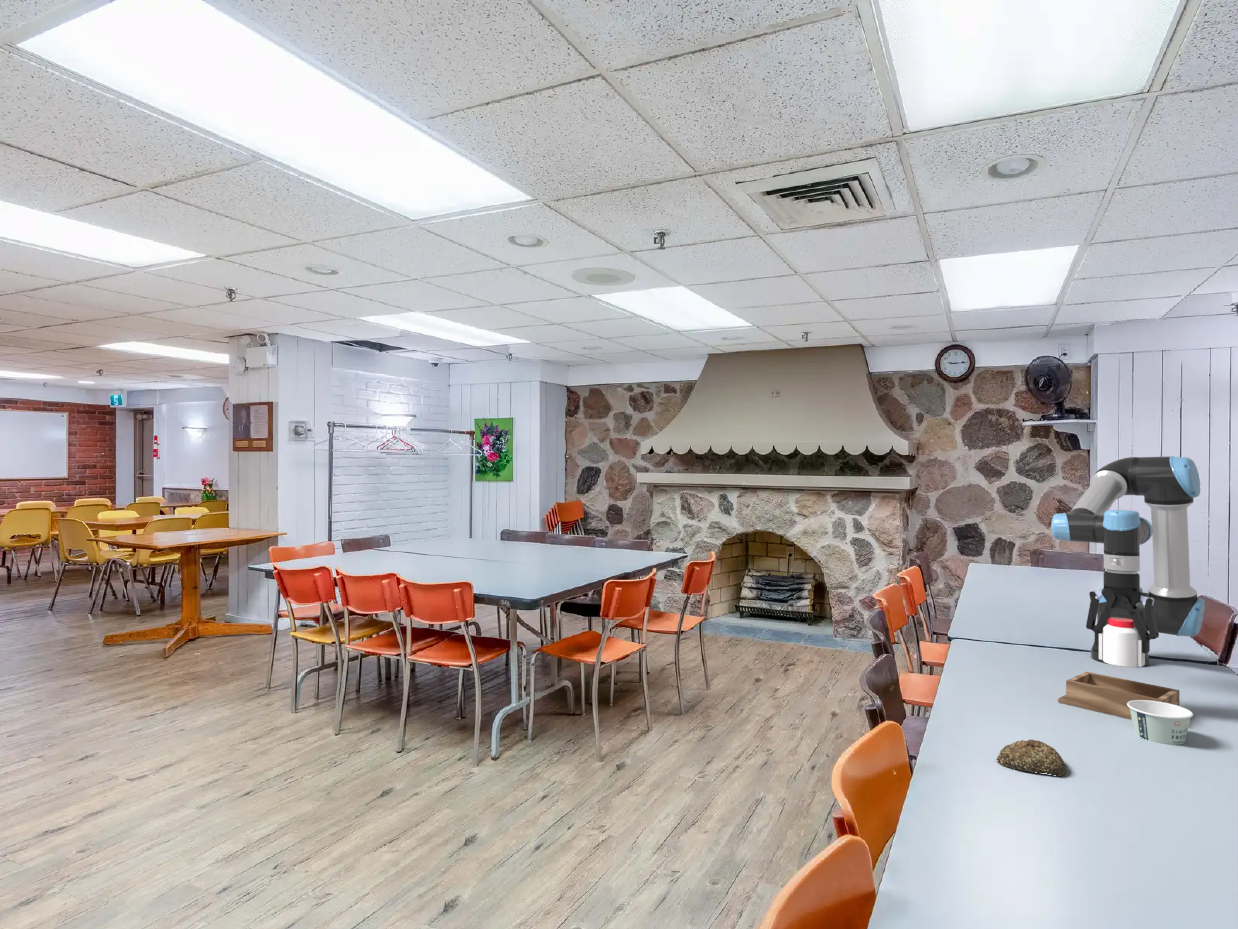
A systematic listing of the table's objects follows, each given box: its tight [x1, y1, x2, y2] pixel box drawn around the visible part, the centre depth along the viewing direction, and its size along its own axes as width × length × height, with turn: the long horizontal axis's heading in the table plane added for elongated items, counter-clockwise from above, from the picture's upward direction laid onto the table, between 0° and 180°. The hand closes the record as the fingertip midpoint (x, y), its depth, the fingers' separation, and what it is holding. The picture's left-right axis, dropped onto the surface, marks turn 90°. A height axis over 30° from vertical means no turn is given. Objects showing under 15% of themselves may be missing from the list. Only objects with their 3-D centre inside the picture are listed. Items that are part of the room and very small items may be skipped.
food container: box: [1127, 700, 1194, 746], centre depth 163 cm, size 12×12×7 cm
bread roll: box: [996, 739, 1067, 777], centre depth 149 cm, size 13×12×5 cm
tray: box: [1057, 671, 1180, 721], centre depth 182 cm, size 14×24×6 cm, turn 38°
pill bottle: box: [1103, 617, 1140, 668], centre depth 182 cm, size 8×8×11 cm
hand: (1121, 662), depth 182 cm, fingers closed on pill bottle, 8 cm apart
